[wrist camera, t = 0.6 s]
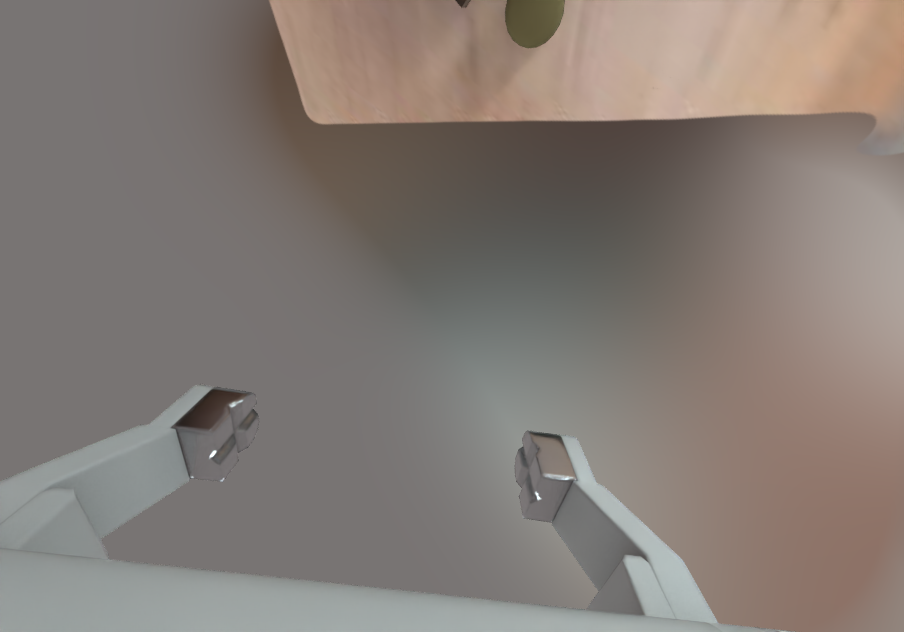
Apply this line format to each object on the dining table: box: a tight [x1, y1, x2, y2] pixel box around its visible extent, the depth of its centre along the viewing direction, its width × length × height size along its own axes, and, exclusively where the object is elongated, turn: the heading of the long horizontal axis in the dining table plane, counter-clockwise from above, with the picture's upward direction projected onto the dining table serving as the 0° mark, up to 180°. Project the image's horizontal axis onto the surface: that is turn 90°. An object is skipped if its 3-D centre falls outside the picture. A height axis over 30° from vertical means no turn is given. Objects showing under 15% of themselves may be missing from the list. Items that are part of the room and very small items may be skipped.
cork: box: [505, 0, 565, 48], centre depth 32 cm, size 6×6×11 cm
